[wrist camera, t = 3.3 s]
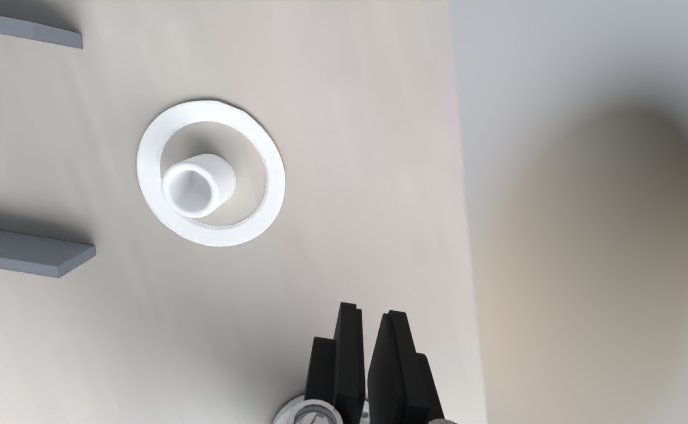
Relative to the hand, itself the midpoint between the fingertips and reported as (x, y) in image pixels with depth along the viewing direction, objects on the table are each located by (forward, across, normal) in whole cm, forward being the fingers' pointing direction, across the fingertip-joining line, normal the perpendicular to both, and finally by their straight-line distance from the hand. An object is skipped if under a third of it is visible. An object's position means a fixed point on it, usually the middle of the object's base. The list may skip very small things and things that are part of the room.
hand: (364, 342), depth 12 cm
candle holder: (+18, +12, 0) cm, 21 cm away
